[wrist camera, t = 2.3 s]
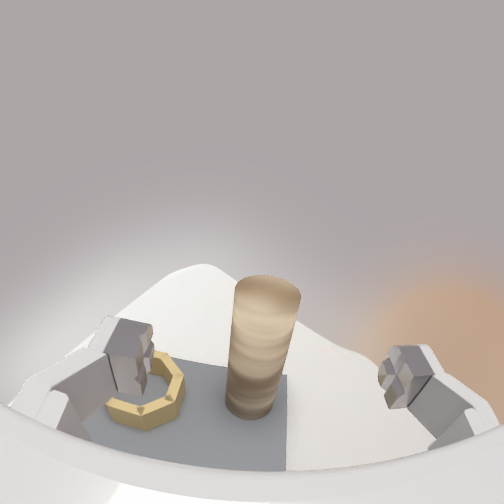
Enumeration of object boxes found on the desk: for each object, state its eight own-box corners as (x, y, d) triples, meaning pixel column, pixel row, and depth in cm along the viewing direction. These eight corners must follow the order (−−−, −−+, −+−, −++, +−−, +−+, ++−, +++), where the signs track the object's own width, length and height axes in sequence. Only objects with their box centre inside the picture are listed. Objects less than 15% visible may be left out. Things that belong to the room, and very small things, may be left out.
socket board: (281, 514, 17) (291, 504, 15) (66, 461, 18) (50, 442, 16) (285, 380, 33) (291, 357, 31) (124, 351, 33) (119, 327, 31)
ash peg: (271, 422, 26) (302, 315, 20) (221, 416, 26) (230, 306, 20) (273, 386, 30) (298, 279, 24) (228, 380, 31) (239, 271, 25)
